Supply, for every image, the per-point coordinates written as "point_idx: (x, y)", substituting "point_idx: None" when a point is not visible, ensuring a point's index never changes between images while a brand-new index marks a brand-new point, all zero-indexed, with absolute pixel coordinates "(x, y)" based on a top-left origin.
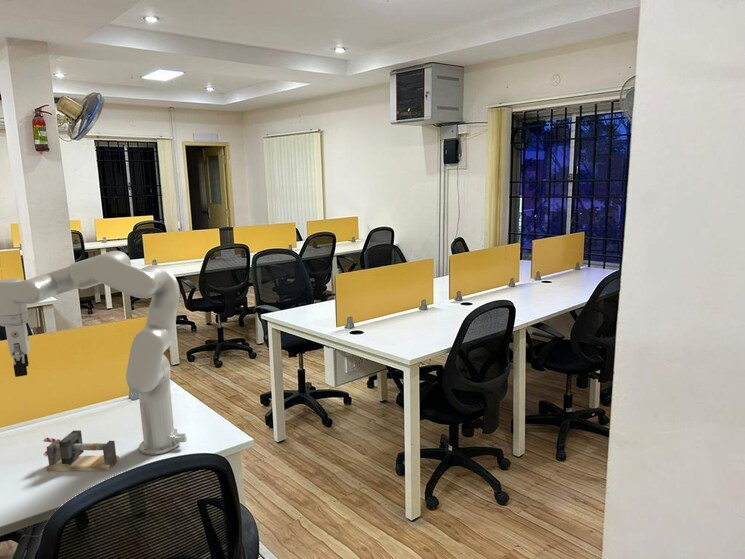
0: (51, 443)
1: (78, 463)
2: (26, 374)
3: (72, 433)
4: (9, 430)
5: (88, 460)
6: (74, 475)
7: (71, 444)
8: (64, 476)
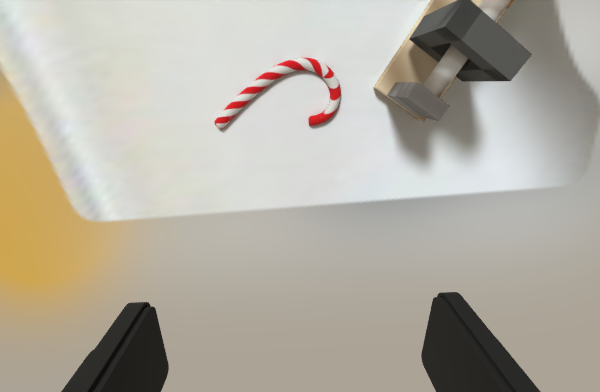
0: (420, 106)
1: None
2: (455, 297)
3: (471, 31)
4: (106, 214)
5: None
6: None
7: None
8: None
